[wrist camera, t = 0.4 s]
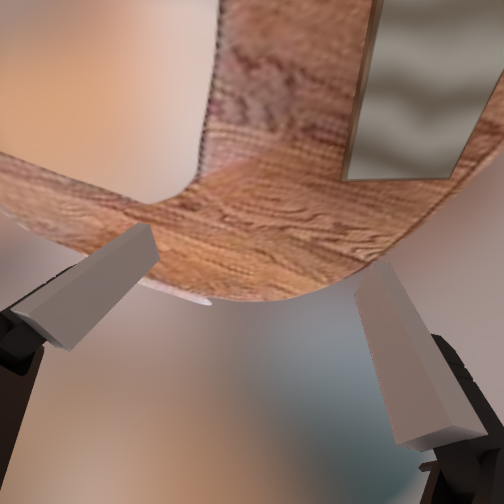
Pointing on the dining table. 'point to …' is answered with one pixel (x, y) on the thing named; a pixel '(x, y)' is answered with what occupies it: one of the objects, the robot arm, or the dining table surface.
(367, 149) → the stand
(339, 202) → the dining table surface
